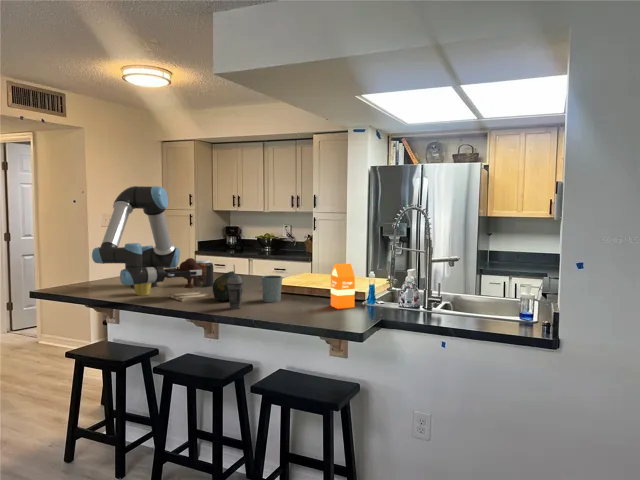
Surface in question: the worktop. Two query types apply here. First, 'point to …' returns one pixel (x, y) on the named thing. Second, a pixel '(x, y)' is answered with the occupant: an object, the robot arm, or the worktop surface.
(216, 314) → the worktop surface
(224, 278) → the squash
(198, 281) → the jar
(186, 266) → the ice cream bowl
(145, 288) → the plant pot
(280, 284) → the blue-grey cup
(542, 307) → the worktop surface
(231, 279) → the beverage cup
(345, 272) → the orange juice
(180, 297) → the trivet
